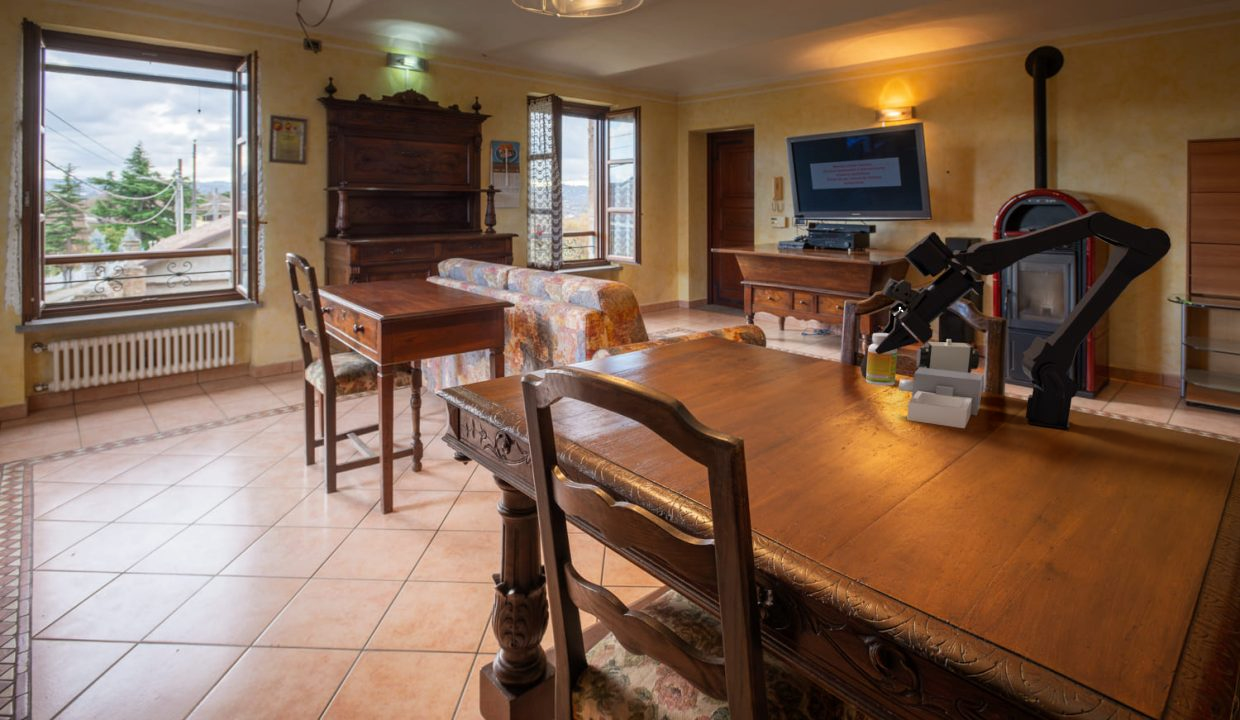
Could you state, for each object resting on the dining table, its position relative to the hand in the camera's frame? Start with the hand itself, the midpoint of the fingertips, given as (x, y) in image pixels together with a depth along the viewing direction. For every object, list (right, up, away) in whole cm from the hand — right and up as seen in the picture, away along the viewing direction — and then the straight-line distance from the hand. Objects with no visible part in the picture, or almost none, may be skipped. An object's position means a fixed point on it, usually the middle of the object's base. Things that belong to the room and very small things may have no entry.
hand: (875, 349), depth 138 cm
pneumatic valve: (+21, -9, +17) cm, 28 cm away
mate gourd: (+10, -7, +28) cm, 30 cm away
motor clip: (+12, -12, +2) cm, 17 cm away
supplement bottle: (+1, -7, +1) cm, 7 cm away
